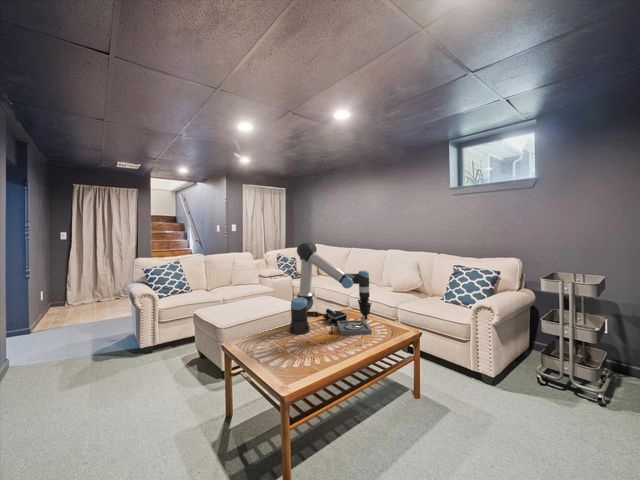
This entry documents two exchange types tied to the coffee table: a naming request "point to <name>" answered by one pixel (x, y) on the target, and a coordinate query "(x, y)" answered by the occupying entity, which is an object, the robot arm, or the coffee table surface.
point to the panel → (345, 331)
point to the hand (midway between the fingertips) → (365, 323)
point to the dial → (354, 325)
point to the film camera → (334, 316)
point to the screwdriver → (334, 330)
